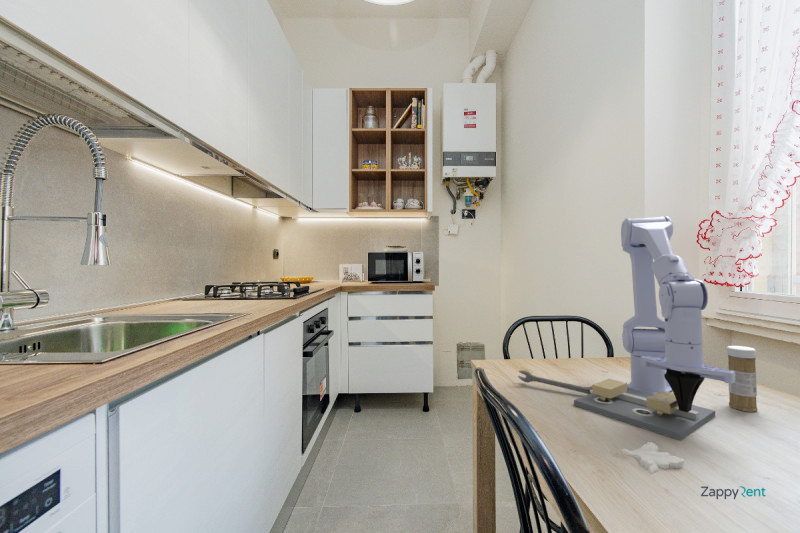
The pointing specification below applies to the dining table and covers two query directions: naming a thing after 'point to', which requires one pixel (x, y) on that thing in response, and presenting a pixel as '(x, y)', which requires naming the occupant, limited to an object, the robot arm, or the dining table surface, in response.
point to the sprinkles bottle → (742, 378)
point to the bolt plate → (641, 410)
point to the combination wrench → (554, 383)
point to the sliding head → (662, 402)
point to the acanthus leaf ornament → (654, 458)
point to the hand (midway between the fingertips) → (685, 410)
